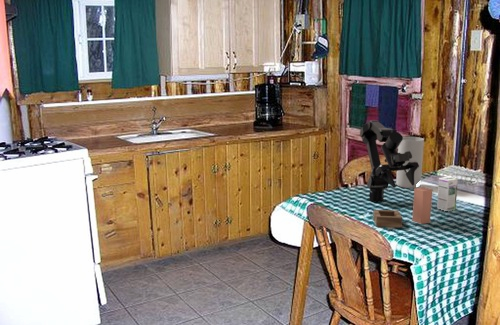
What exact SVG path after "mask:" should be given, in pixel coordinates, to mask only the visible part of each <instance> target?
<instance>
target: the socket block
mask: <svg viewBox="0 0 500 325" xmlns="http://www.w3.org/2000/svg"><path fill="white" fill-rule="evenodd" d="M372 217H373V218H372V220H373V222H374V224H375V227H376V228H380V227H381V228H403V217H402V215H401V213H400V211H399V210H396V209H395V210H394V209H393V210H392V209H373V214H372Z"/></svg>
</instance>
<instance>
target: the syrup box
mask: <svg viewBox="0 0 500 325" xmlns="http://www.w3.org/2000/svg"><path fill="white" fill-rule="evenodd" d="M458 180H459V179H458V178H456V177H453V176H443V177H439V178H438V187H437V201H436V202H437V203H436V204H437V205H436V209H437V210H439V209H441V210H440V211H442V210H444V211H443V212H445V211H448V212H451V211H452V210H453V211H456V209H457V195H458V183H459V182H458Z"/></svg>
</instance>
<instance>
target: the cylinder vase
mask: <svg viewBox="0 0 500 325" xmlns="http://www.w3.org/2000/svg"><path fill="white" fill-rule="evenodd" d="M424 145H425V138H422V137H417V136H403V140H402V142H401V143H400V145H399V146H398V148H397V152H398V153H401V154H404V153H405V152H407V151H410V152H411V154H412V158H411V159H409V161H405V164H403V166H404V165H407V164H408V163H409V162H414V161H416V162H418V164H419V167H418V168H417V169H416V170H415V172H414V185H413V186H412V184H411V183H410V181H409V180H408V178H407V176H406V175H405V174H406V172H405V171H404V170H399V171H396V181H395V185H396V186H398V187H400V188H404V189H414V188H416V184H417V183H418V182H419V181H420V180H421V181H422V175H423V173H422V172H423V160H424V147H425V146H424Z"/></svg>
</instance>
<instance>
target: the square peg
mask: <svg viewBox="0 0 500 325" xmlns="http://www.w3.org/2000/svg"><path fill="white" fill-rule="evenodd" d="M413 189H414V192H413V203H412V206H413V207H412V222H415V223H418V224H420V225H423V224H424V225H425V224H429V223H431V215H432V214H431V213H432V201H433V189H432V188H428V187H424V186H420V187H418V188H413Z"/></svg>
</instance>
